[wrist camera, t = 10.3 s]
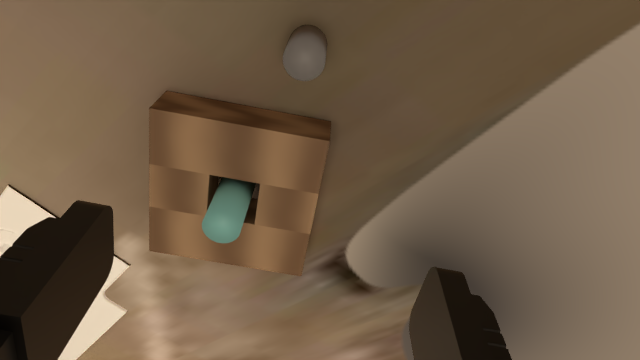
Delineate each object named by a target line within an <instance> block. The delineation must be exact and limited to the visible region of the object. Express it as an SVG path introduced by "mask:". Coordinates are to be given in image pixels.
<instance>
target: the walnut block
mask: <svg viewBox="0 0 640 360" xmlns="http://www.w3.org/2000/svg"><path fill="white" fill-rule="evenodd" d="M330 129H331V121H325V120H320V119H315V118H309V117H304V116H299V115H293V114H288V113H283V112H277V111H272V110H266V109H261V108H256V107H250V106H245V105H240V104H234V103H229V102H223V101H218V100H213V99H207V98H202V97H197V96H191V95H186V94H180V93H175V92H170V91H166V92H165V93H164V94H163V95H162V96H161V97H160V98H159V99H158V100H157V101H156V102H155V103H154V104H153V105H152V106H151V107H150V108H149V251H153V252H159V253H165V254H171V255H177V256H183V257H189V258H195V259H201V260H207V261H213V262H219V263H225V264H231V265H237V266H243V267H249V268H255V269H261V270H267V271H273V272H279V273H285V274H291V275H297V276H301V274H302V270H303V265H304V260H305V256H306V251H307V246H308V242H309V237H310V232H311V227H312V223H313V218H314V213H315V209H316V204H317V199H318V195H319V190H320V185H321V181H322V176H323V171H324V166H325V162H326V157H327V152H328V148H329V143H330ZM218 176H220V177H225V178H231V179H237V180H242V181H248V182H254V183H259V184H260V189H259V196H258V199H252V198H251V201H250V204H249V207H248V210H247V213H246V216H245V220H244V223H243V226H242V229H241V232H240V235H239V237H238V238H237V239H236V240H234V241H233V242H230V243H217V242H215V241H212V240H211V239H209V238H208V237H207V236H206V235H205V234H204V232H203V229H202V221H203V219H204V217H205V214H206V212H207V210H208V208H209V206H210V203H211V201H212V199H213V197H214V195H215V192H216V190H217V188H218Z"/></svg>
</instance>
